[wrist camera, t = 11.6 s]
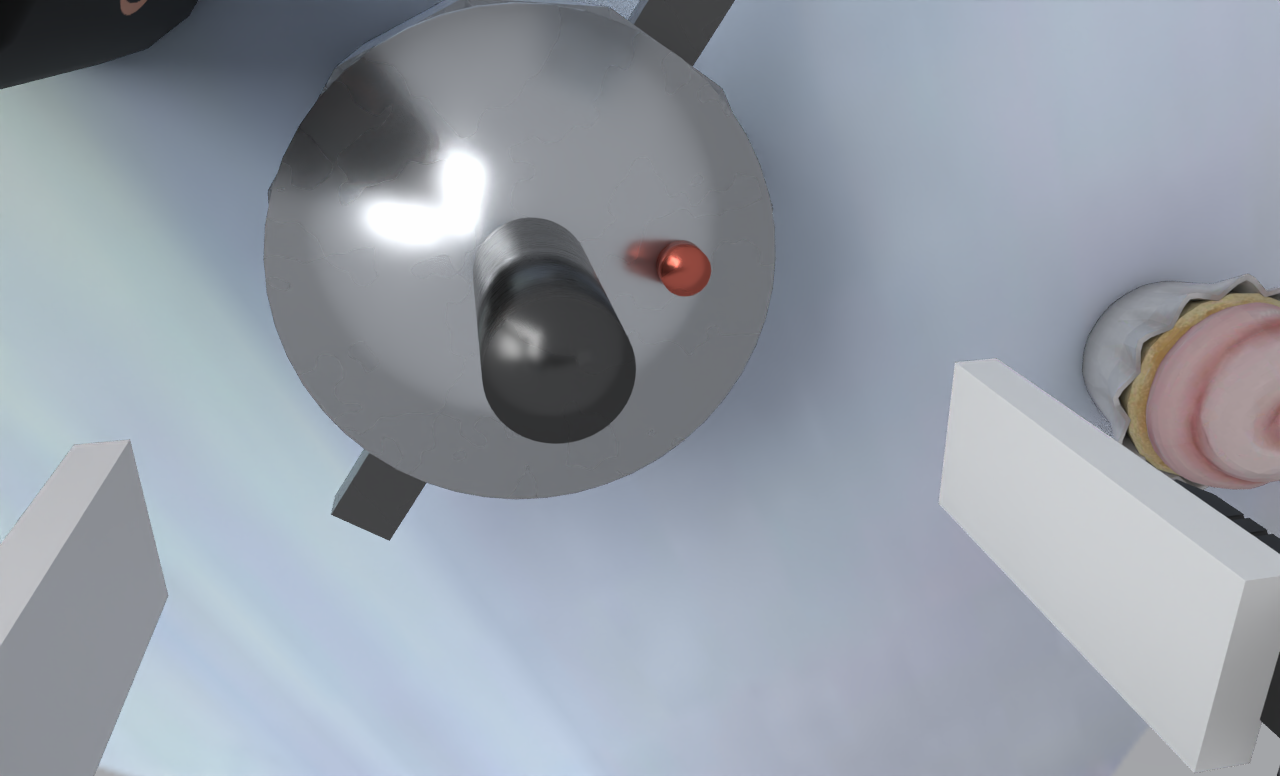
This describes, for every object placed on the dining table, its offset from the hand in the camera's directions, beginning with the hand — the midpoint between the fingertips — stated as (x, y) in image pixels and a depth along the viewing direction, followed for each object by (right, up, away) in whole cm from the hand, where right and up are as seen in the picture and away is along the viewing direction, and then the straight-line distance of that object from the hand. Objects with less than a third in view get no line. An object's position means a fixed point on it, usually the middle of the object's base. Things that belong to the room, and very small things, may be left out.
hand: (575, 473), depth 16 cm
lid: (-2, +5, +14) cm, 15 cm away
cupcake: (+23, +3, +28) cm, 37 cm away
